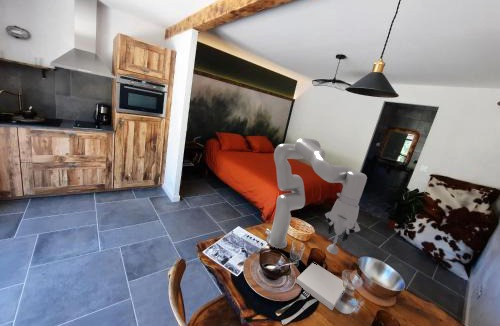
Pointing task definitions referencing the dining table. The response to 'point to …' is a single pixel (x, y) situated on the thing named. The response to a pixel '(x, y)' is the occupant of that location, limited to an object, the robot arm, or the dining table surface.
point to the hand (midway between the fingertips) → (337, 236)
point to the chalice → (338, 230)
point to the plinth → (321, 285)
